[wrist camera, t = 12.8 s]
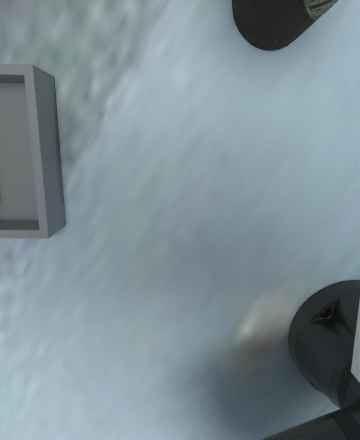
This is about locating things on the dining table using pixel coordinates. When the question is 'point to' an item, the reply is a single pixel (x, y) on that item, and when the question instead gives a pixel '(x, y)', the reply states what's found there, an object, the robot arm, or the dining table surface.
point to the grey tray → (29, 154)
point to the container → (276, 20)
